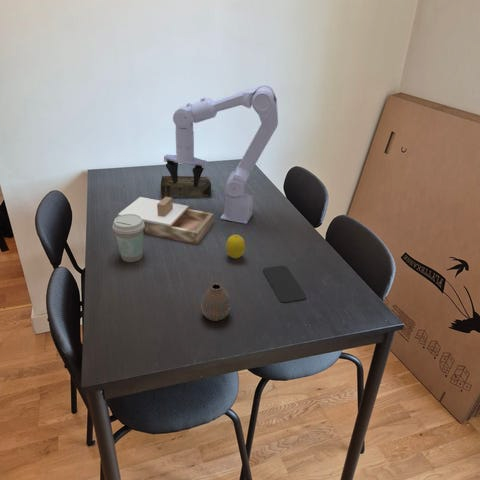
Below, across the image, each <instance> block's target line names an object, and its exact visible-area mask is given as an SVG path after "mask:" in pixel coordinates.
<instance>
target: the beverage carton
mask: <svg viewBox="0 0 480 480" xmlns="http://www.w3.org/2000/svg"><path fill="white" fill-rule="evenodd" d="M160 197H161V198H165V197H171V198H172V199H175V198H176V199H177V198H178V199H181V198H182V199H187V198H189V199H190V198H191V199H192V198H193V199H195V198H196V199H197V198H202V199H203V198H205V199H206V198H209V199H210V198H212V179H211V177H210V176H200V179H199V184H198V186H197V187H194V175H191V176H189V175H188V176H187V175H184V176H183V175H181V176H180V175H178V182H177V183H175V184H174V183H173V180H172V177H171V175H162V176H161V179H160Z"/></svg>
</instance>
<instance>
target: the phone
mask: <svg viewBox="0 0 480 480" xmlns="http://www.w3.org/2000/svg"><path fill="white" fill-rule="evenodd" d="M262 272H263V274H264V276H265V278H266V280H267V281H268V283H269V285H270V286H271V288H272V291H273V292H274V293H275V296H276V297H277V299H278V300H279V302H280V303H282V304H288V303H294V302H301V301H306V299H307V296H306V294H305V292H304V291H303V289H302V287H301V286H300V285H299V283H298V282H297V280H296V278H295V277H294V275H293V274H292V273H291V271H290V269H289V268H288V267H287V266H286V265H277V266H268V267H264V268H263V269H262Z"/></svg>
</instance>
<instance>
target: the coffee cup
mask: <svg viewBox="0 0 480 480" xmlns="http://www.w3.org/2000/svg"><path fill="white" fill-rule="evenodd" d="M144 227H145V224H144V221H143V220H142V218H141V217H140V216H139V215H136V214H124V215H120V216H118V215H117V217H115V218H114V220H113V224H112V231H113V232H114V234H115V237H116V242H117V245H118V250H119V253H120V257H121V260H123V261H124V262H126V263H134V262H135V263H136V262H138V261H139V260H141V259H142V258H143V253H144V252H143V251H144V250H143V249H144V247H143V246H144V230H145V229H144Z"/></svg>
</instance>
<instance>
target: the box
mask: <svg viewBox="0 0 480 480" xmlns="http://www.w3.org/2000/svg"><path fill="white" fill-rule="evenodd" d="M144 224H145V227H144V229H143V230H144V234H147V235H150V236H155V237H160V238H165V239H170V240H175V241H178V242H185V243H189V244H193V245H199V243H200V242H201V241H202V239H203V238H204V237H205V236H206V234H207V233H208V232H209V230H210V229H211V228H212V226H213V225H214V213H213V212H207V211H201V210H197V209H196V210H195V209H191V208H188V209H187V210H186V211H185V212H184V213H183V214H182V215H181V216H180V217H179V218H178V219H177V220H176V221H175V223H174V224H173V225H172V226H171V227H168V226H163V225H158V224H153V223H148V222H144Z"/></svg>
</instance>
